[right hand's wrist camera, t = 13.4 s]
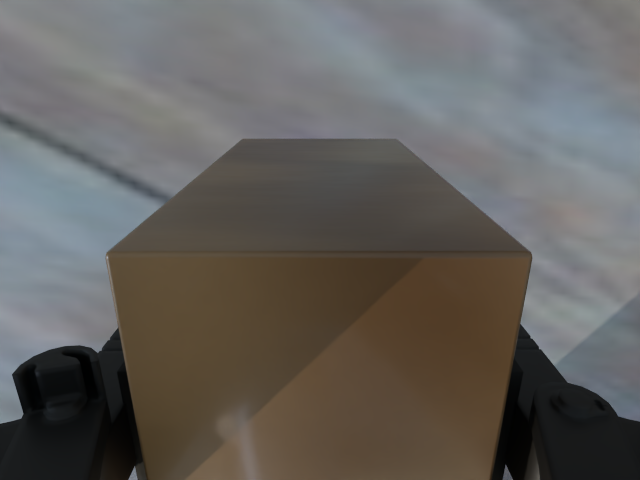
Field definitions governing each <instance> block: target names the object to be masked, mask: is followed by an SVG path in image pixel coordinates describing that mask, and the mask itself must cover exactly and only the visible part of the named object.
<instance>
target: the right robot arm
mask: <svg viewBox="0 0 640 480" xmlns="http://www.w3.org/2000/svg"><path fill="white" fill-rule="evenodd" d="M12 376H13V379H14V383H15V386H16V389H17V393H18V396H19V400H20V403H21V406H22V410H23V413H24V414H23V416H22V419H19V420H15V421H11V422H7V423H2V424H0V480H128V479H129V477H130V475H131V473H132V470H133V468H134V466H135V468H136V473H137V478H138V480H147V479H146V473H145V468H144V462H143V457H142V452H141V446H140V441H139V435H138V430H137V425H136V419H135V414H134V408H133V403H132V398H131V392H130V387H129V382H128V376H127V371H126V365H125V360H124V355H123V349H122V344H121V338H120V333H119V328H118V329H117V330H116V331H115V333H114V334H113V335H112V336H111V338H110V340H108V341H107V343H106V344H105V345H104V346H103V348H102V351H99V353H97V352H96V351H94V350H93V349H92V348H89V347H85V346H80V345H79V346H64V347H60V348H55V349H51V350H48V351H46V352H43V353H41V354H38V355H36V356H34V357H32V358H30V359H29V360H27V361H26V362H24V363H23V364H21V365H20V366H19V367H18V368H17V369H16V371H15V372H14V373H13V374H12ZM505 464H506V465H507V468H508V470H509V472H510V474H511V476H512V478H513V480H640V422H638V421H634V420H629V419H625V418H622V417H618V416H617V414H616V412H615V411H614V409H613V408H612V407H611V405H610V404H609V403H608V402H607V401H605V400H604V399H603V398H601V397H600V396H599V395H597V394H596V393H594V392H592V391H590V390H588V389H585V388H583V387H581V386H577V385H574V384H570V383H567V381H566V380H565V379H564V378H563V376H562V375H561V374H560V373H559V371H558V370H557V369H556V368H555V366H554V365H553V364H552V363H551V361H550V360H549V359H548V358H547V356H546V355H545V354H544V353H543V351H542V350H541V349H539V346H538V345H537V344H536V343H535V341H534V340H533V339H530V335H529V334H528V333H527V332H526V330H525V329H524V328H523V327H522V325H521V324H520V328H519V333H518V338H517V344H516V349H515V355H514V360H513V366H512V371H511V377H510V382H509V387H508V393H507V398H506V404H505V409H504V415H503V420H502V426H501V431H500V436H499V442H498V447H497V453H496V458H495V464H494V469H493V475H492V480H503V474H504V469H505Z"/></svg>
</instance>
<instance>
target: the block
mask: <svg viewBox="0 0 640 480" xmlns="http://www.w3.org/2000/svg"><path fill="white" fill-rule="evenodd" d="M531 262H532V254H531V252H530V251H529V250H528V249H526V248H525V247H524V246H523V245H522V244H521V243H519V242H518V241H517V240H516V239H515V238H513V237H512V236H511V235H510V234H509V233H508V232H506V231H505V230H504V229H503V228H502V227H500V226H499V225H498V224H497V223H496V222H494V221H493V220H492V219H491V218H490V217H489V216H487V215H486V214H485V213H484V212H483V211H481V210H480V209H479V208H478V207H477V206H476V205H474V204H473V203H472V202H471V201H470V200H468V199H467V198H466V197H465V196H464V195H463V194H461V193H460V192H459V191H458V190H457V189H455V188H454V187H453V186H452V185H451V184H449V183H448V182H447V181H446V180H445V179H444V178H442V177H441V176H440V175H439V174H438V173H436V172H435V171H434V170H433V169H432V168H431V167H429V166H428V165H427V164H426V163H425V162H423V161H422V160H421V159H420V158H419V157H417V156H416V155H415V154H414V153H413V152H412V151H410V150H409V149H408V148H407V147H406V146H404V145H403V144H402V143H401V142H400V141H399V140H397V139H242V140H241V141H239V142H238V143H237V144H236V145H235V146H233V147H232V148H231V149H230V150H229V151H228V152H226V153H225V154H224V155H223V156H222V157H220V158H219V159H218V160H217V161H216V162H214V163H213V164H212V165H211V166H210V167H208V168H207V169H206V170H205V171H204V172H202V173H201V174H200V175H199V176H198V177H196V178H195V179H194V180H193V181H192V182H190V183H189V184H188V185H187V186H186V187H184V188H183V189H182V190H181V191H180V192H178V193H177V194H176V195H175V196H174V197H172V198H171V199H170V200H169V201H168V202H166V203H165V204H164V205H163V206H162V207H161V208H159V209H158V210H157V211H156V212H155V213H153V214H152V215H151V216H150V217H149V218H147V219H146V220H145V221H144V222H143V223H141V224H140V225H139V226H138V227H137V228H135V229H134V230H133V231H132V232H131V233H129V234H128V235H127V236H126V237H125V238H123V239H122V240H121V241H120V242H119V243H117V244H116V245H115V246H114V247H113V248H111V249H110V250H109V251H108V252H107V254H106V263H107V268H108V274H109V279H110V284H111V290H112V295H113V301H114V306H115V311H116V317H117V322H118V328H119V333H120V338H121V344H122V349H123V355H124V360H125V365H126V371H127V376H128V382H129V387H130V392H131V398H132V403H133V408H134V414H135V419H136V425H137V430H138V435H139V441H140V446H141V452H142V457H143V462H144V468H145V473H146V479H147V480H492V475H493V469H494V464H495V458H496V453H497V447H498V442H499V436H500V431H501V426H502V420H503V415H504V409H505V404H506V398H507V393H508V387H509V382H510V377H511V371H512V366H513V360H514V355H515V349H516V344H517V338H518V333H519V328H520V322H521V317H522V311H523V306H524V300H525V295H526V289H527V284H528V279H529V273H530V268H531Z"/></svg>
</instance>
